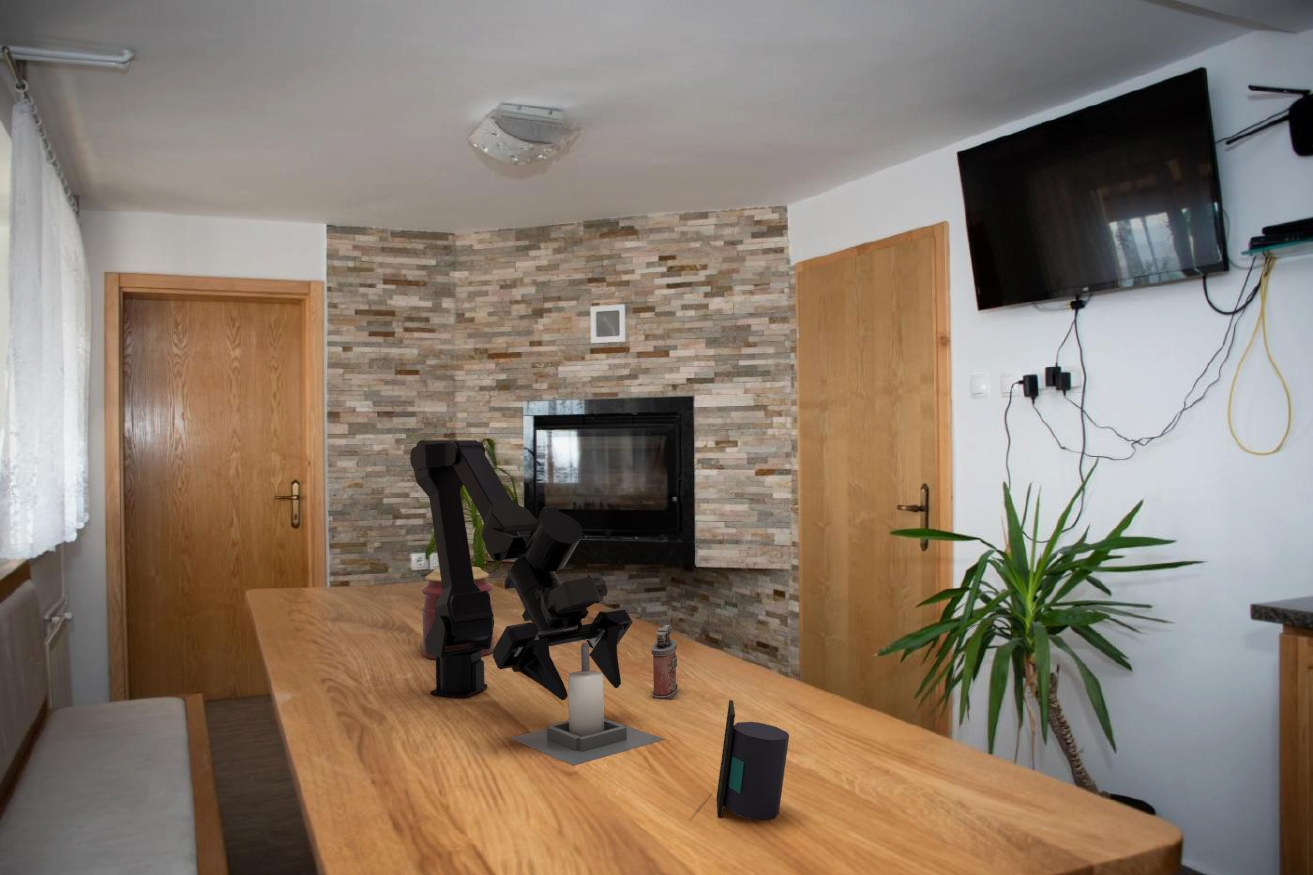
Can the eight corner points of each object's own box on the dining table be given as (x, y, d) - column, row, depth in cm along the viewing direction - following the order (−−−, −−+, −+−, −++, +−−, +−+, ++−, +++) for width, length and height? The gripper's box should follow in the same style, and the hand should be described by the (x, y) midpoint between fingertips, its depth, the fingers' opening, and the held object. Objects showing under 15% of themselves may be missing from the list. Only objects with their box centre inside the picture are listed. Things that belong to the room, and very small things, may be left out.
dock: (509, 741, 118) (509, 726, 118) (598, 719, 127) (598, 704, 127) (573, 769, 108) (572, 752, 108) (665, 743, 117) (665, 727, 117)
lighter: (671, 702, 135) (670, 633, 135) (648, 702, 136) (647, 632, 136) (681, 688, 143) (679, 622, 143) (659, 687, 144) (658, 622, 144)
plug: (563, 742, 116) (561, 645, 116) (578, 732, 120) (576, 638, 120) (595, 745, 115) (594, 647, 115) (609, 734, 119) (608, 640, 119)
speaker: (697, 814, 93) (707, 710, 93) (716, 797, 98) (726, 698, 99) (771, 833, 90) (781, 725, 90) (787, 814, 95) (796, 712, 96)
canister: (509, 649, 173) (507, 554, 173) (459, 664, 162) (457, 562, 162) (458, 643, 180) (456, 551, 180) (406, 656, 169) (405, 558, 169)
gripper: (502, 561, 115) (554, 666, 106) (622, 548, 127) (678, 641, 118) (472, 617, 121) (519, 721, 112) (589, 599, 133) (640, 692, 124)
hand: (592, 692), depth 116 cm, fingers open, 8 cm apart
